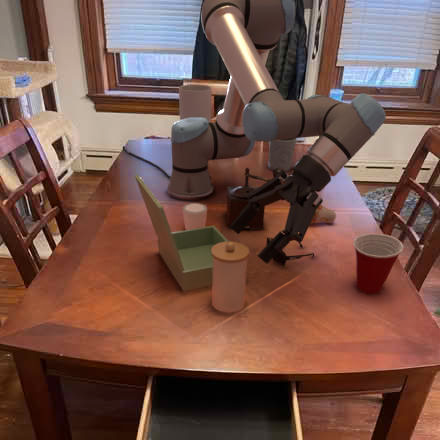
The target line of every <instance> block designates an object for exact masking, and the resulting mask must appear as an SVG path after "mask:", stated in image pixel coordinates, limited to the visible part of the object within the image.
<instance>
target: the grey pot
mask: <svg viewBox="0 0 440 440" xmlns="http://www.w3.org/2000/svg"><path fill="white" fill-rule="evenodd" d="M297 139H298V138H291V139H282V140H273V141H269V142H268V143H269V147H268V148H269V149H268V166H267V167H268V169H269V170H271V171H273V169H274V168H277V167H280V168H283V169H284V170H285V171H286V172H289V171H290V170H291V169H292V164H293V163H292V162H293V161H292V160H293V158H294V151H295V147H296V142H297Z"/></svg>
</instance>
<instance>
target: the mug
mask: <svg viewBox="0 0 440 440" xmlns="http://www.w3.org/2000/svg"><path fill="white" fill-rule="evenodd" d="M336 218H337V213H336V211H335V210H333V209H330V208H328V207H326V206H325V205H324V204H322V203H321V204H320V206H319V207H318V208H317V209H316V212H315V214H314V216H313V218H312V220H311V223H310V224H319V223H326V224H332V223H334V222H335V221H336Z"/></svg>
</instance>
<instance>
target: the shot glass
mask: <svg viewBox="0 0 440 440" xmlns="http://www.w3.org/2000/svg"><path fill="white" fill-rule="evenodd" d="M207 213H208V207H207V205H205V204H203V203H200V202H199V203H198V202H191V203H190V202H189V203H186V204H185V205H183V206H182V214H183V221H184V230H190V229H196V228H202V227H206V225H207Z"/></svg>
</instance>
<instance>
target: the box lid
mask: <svg viewBox="0 0 440 440" xmlns="http://www.w3.org/2000/svg"><path fill="white" fill-rule="evenodd" d="M134 178H135V180H136V183H137V186H138V189H139V192H140V194H141V197H142V200H143V202H144V205H145V207H146V211H147V213H148V216H149V218H150V221H151V224H152V226H153V229H154V231H155V232H154V233H155V234H156V236H157V238H158V237H159V239H160V240H161V242H162V243H163V245H164V246H165V248H166V249H167V251H168V252H169V254H170V255H171V257H172V258H173V260H174V261H175V263H176V264H177V266H178V267H179V269H180V270H181V272H182V271H184V267H183V264H182V261H181V258H180V256H179V253H178V250H177V247H176V244H175V241H174V238H173V235H172V232H173V231H172V228H171V227H170V224H169V221H168V218H167V215H166V212H165V208H164V206H163V205H162V204H161V202H160V201H159V200H158V199H157V197H156V196H155V195H154V193H153V192H152V191H151V189H150V188H149V187H148V186H147V184H146V183H145V182H144V180H143V179H142V177H140V175H139V174H135V175H134Z"/></svg>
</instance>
